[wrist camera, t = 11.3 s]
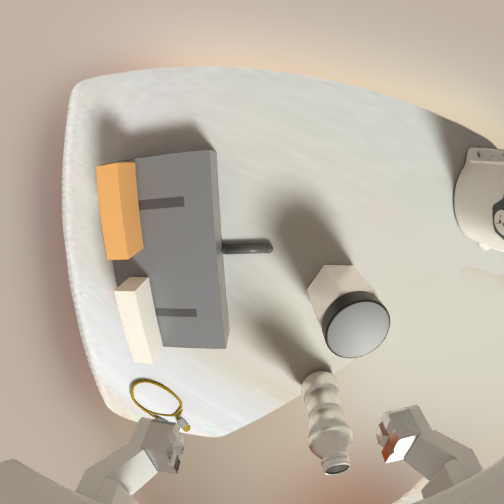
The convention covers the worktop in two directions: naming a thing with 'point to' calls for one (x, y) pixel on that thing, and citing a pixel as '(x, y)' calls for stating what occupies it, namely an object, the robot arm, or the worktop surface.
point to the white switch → (139, 319)
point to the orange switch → (119, 210)
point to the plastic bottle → (327, 422)
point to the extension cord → (180, 421)
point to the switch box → (183, 248)
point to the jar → (348, 311)
